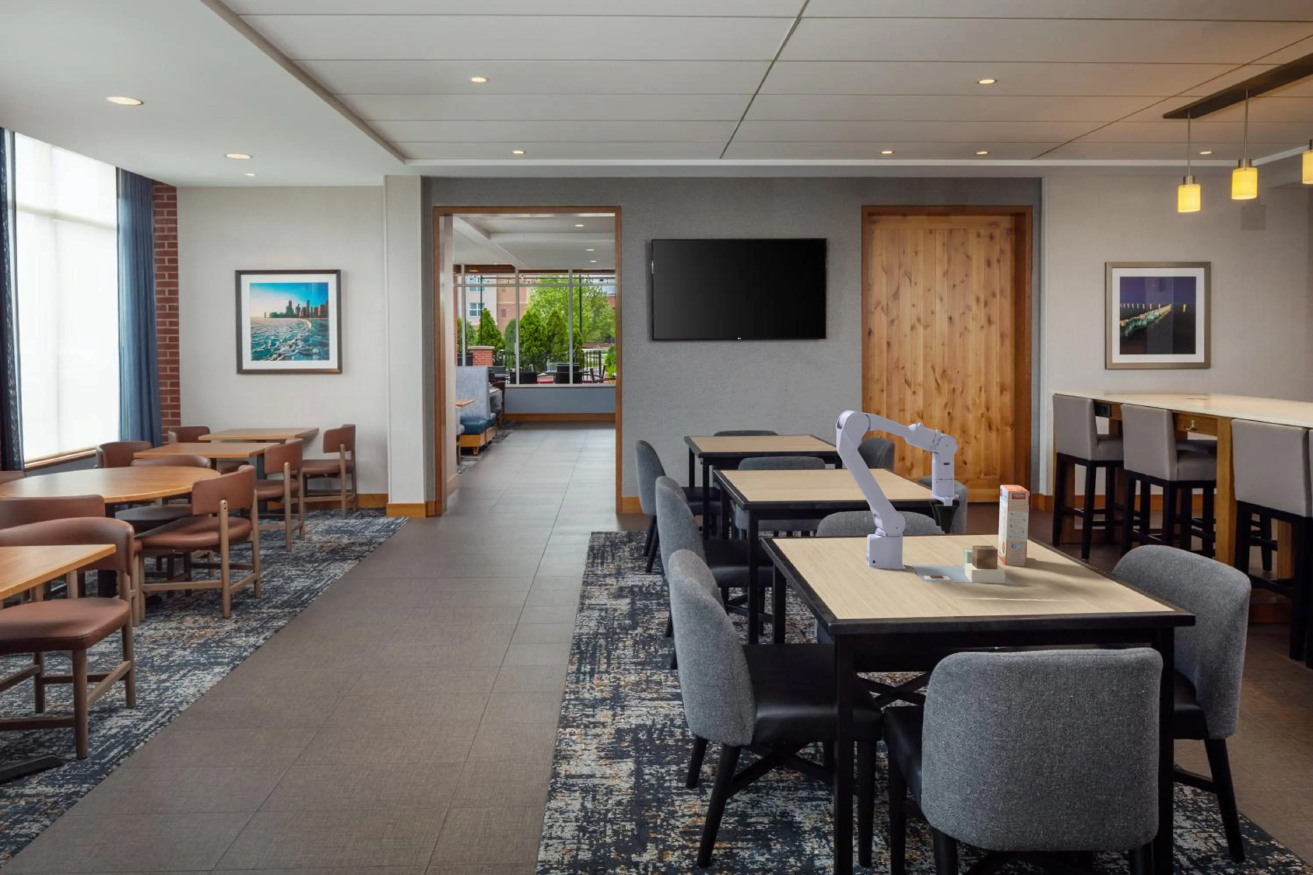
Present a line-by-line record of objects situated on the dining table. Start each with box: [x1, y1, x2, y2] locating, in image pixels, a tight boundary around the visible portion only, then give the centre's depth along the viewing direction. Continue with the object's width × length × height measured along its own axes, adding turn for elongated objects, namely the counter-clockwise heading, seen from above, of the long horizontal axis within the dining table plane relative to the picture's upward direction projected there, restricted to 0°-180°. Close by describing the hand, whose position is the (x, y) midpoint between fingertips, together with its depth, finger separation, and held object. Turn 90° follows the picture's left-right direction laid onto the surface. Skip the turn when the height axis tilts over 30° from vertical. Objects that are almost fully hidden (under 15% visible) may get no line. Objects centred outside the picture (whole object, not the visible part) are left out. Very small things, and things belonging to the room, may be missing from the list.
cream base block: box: [965, 563, 1006, 582], centre depth 249 cm, size 8×8×3 cm
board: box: [910, 564, 1014, 585], centre depth 255 cm, size 22×20×1 cm
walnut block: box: [972, 545, 999, 569], centre depth 249 cm, size 5×5×5 cm
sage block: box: [962, 548, 973, 569], centre depth 260 cm, size 5×5×5 cm
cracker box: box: [997, 484, 1030, 567], centre depth 271 cm, size 14×6×21 cm, turn 168°
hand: (943, 528), depth 265 cm, fingers open, 7 cm apart
